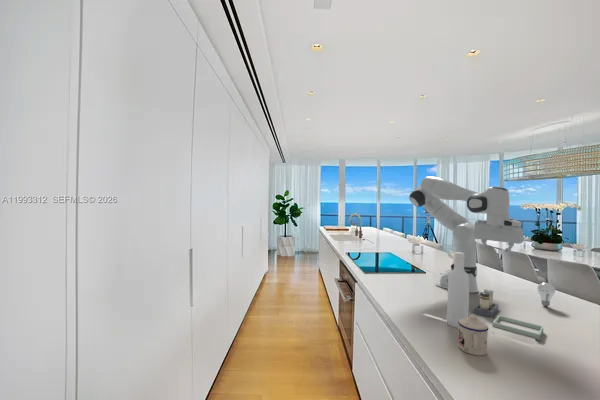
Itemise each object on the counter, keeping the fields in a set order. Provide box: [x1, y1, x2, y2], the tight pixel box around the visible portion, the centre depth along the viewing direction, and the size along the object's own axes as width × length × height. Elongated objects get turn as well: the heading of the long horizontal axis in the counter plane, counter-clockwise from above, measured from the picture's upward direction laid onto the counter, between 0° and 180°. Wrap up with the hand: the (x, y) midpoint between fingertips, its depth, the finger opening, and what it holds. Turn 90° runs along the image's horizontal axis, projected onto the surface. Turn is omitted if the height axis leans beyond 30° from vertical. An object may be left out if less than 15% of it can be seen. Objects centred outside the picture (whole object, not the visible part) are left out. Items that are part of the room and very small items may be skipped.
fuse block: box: [470, 302, 502, 320], centre depth 136 cm, size 9×14×4 cm, turn 135°
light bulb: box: [536, 282, 556, 308], centre depth 148 cm, size 7×7×12 cm
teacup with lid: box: [457, 314, 489, 356], centre depth 101 cm, size 12×9×12 cm
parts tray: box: [492, 314, 544, 342], centre depth 119 cm, size 15×11×2 cm
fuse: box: [483, 288, 494, 307], centre depth 139 cm, size 4×4×9 cm
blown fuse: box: [479, 291, 490, 311], centre depth 134 cm, size 4×4×9 cm
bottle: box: [446, 251, 470, 329], centre depth 123 cm, size 8×8×30 cm
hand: (496, 250), depth 138 cm, fingers open, 8 cm apart
